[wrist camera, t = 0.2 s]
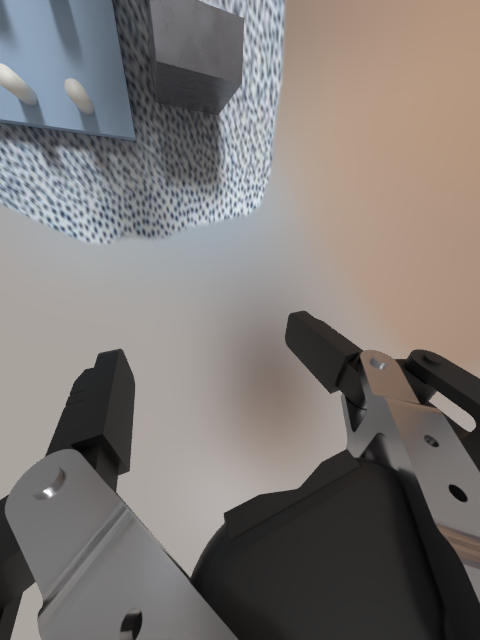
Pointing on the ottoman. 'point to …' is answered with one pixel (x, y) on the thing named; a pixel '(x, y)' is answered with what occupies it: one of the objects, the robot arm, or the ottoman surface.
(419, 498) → the robot arm
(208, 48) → the plate
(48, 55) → the pin cradle
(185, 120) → the ottoman surface
